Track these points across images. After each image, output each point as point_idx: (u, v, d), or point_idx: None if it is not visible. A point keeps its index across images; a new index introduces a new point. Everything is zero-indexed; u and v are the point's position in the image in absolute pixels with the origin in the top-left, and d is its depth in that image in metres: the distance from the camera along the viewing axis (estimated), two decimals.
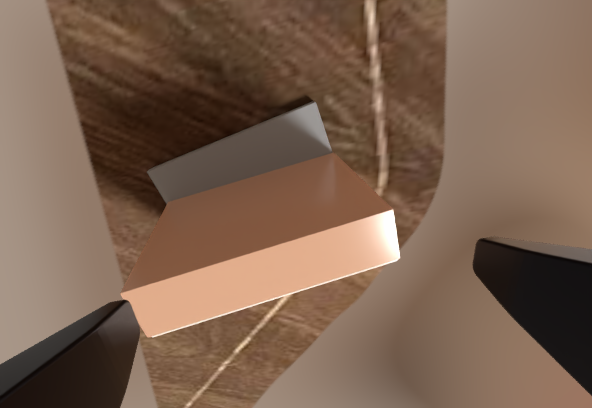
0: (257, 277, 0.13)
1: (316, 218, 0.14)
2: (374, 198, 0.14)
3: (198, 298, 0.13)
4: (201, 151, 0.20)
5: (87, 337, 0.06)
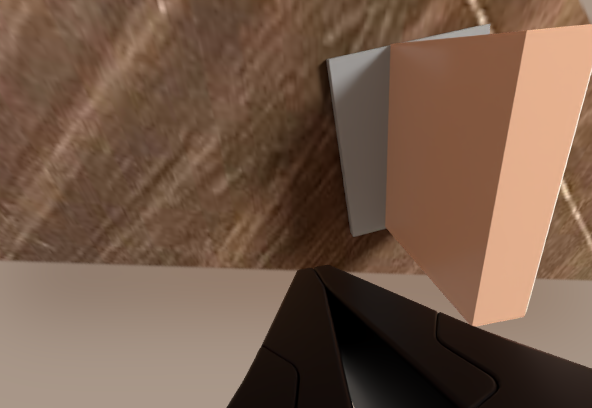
0: (522, 214, 0.12)
1: (482, 127, 0.11)
2: (491, 42, 0.10)
3: (511, 271, 0.13)
4: (348, 189, 0.20)
5: (327, 294, 0.06)
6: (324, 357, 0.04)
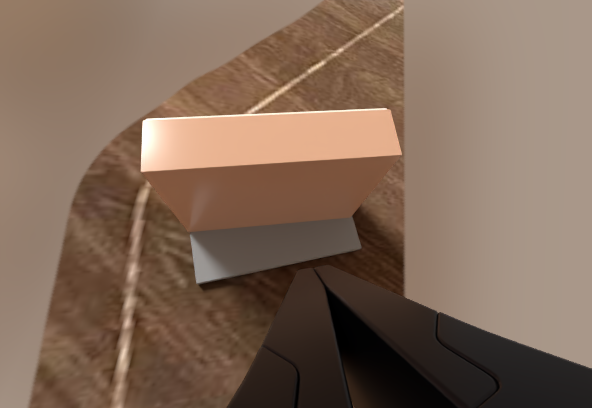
0: (284, 138, 0.14)
1: (218, 178, 0.14)
2: (157, 184, 0.14)
3: (340, 133, 0.14)
4: (311, 256, 0.22)
5: (327, 293, 0.06)
6: (324, 357, 0.04)
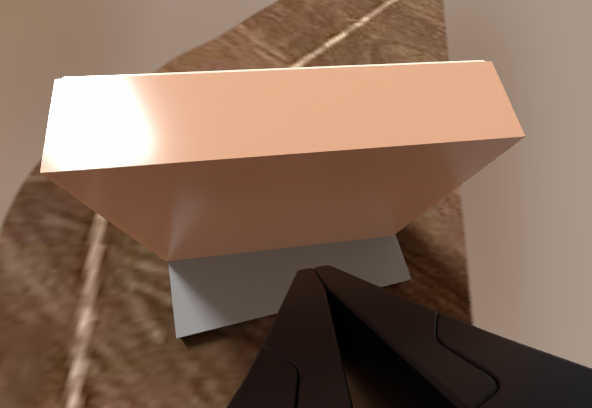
0: (315, 109, 0.08)
1: (197, 184, 0.08)
2: (86, 196, 0.08)
3: (413, 100, 0.08)
4: None
5: (327, 294, 0.06)
6: (324, 357, 0.04)
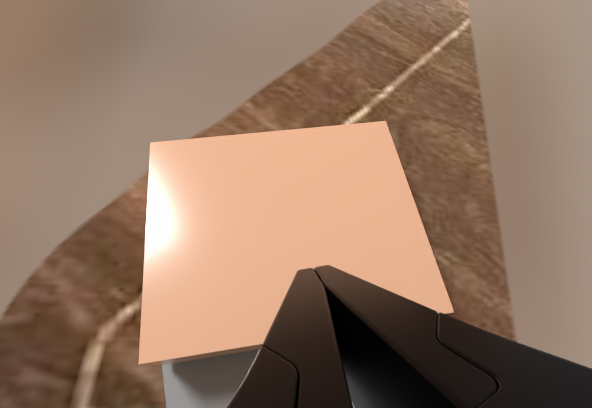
0: None
1: (217, 157, 0.14)
2: (155, 167, 0.14)
3: None
4: None
5: (327, 294, 0.06)
6: (324, 357, 0.04)
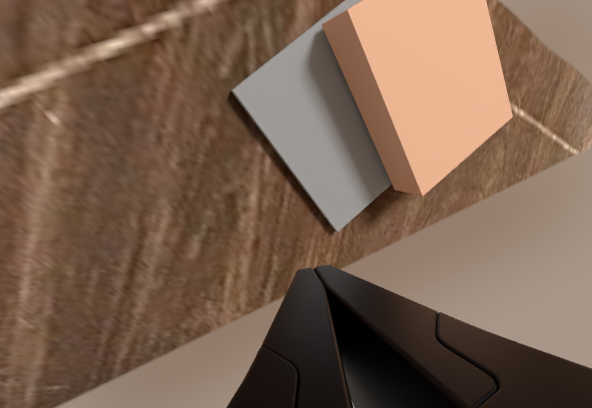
0: None
1: None
2: None
3: None
4: (310, 193, 0.20)
5: (327, 294, 0.06)
6: (324, 357, 0.04)
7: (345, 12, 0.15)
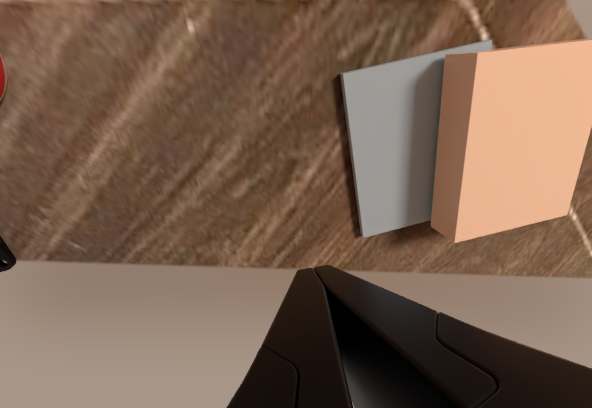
0: None
1: (585, 94, 0.19)
2: None
3: None
4: (359, 193, 0.22)
5: (327, 294, 0.06)
6: (324, 357, 0.04)
7: (474, 54, 0.16)
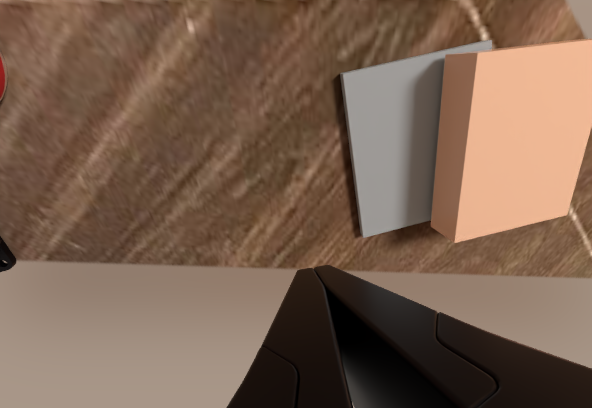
0: None
1: (585, 94, 0.19)
2: None
3: None
4: (359, 193, 0.22)
5: (327, 294, 0.06)
6: (324, 357, 0.04)
7: (474, 54, 0.16)
